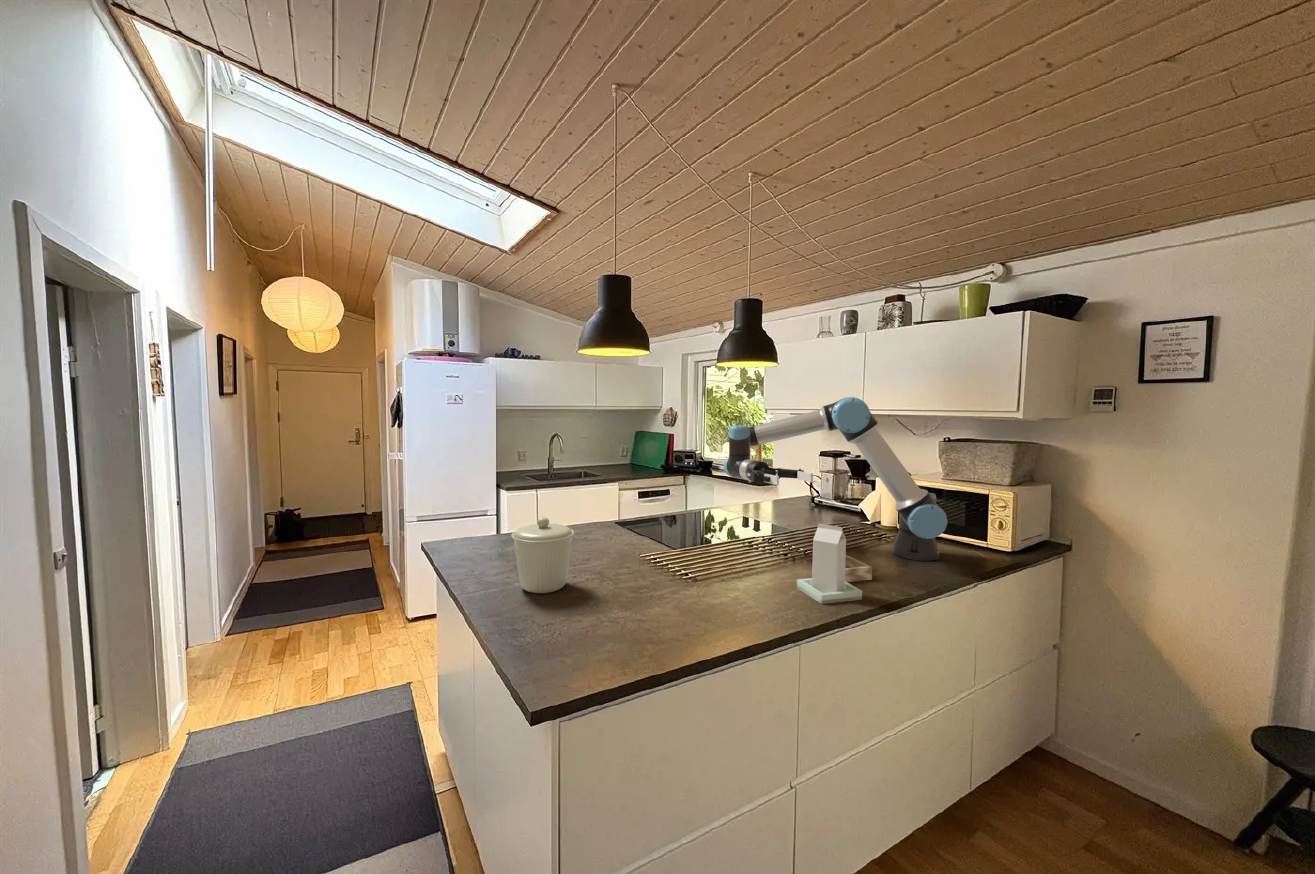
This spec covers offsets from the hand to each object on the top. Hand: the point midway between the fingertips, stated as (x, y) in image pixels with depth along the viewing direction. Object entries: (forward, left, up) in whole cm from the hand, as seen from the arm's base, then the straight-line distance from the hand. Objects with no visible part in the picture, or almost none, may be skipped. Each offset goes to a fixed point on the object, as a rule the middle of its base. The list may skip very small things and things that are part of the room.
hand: (795, 479), depth 167 cm
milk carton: (-2, +17, -30) cm, 35 cm away
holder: (-16, +3, -31) cm, 35 cm away
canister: (+77, -9, -31) cm, 84 cm away
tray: (-2, +17, -31) cm, 35 cm away
